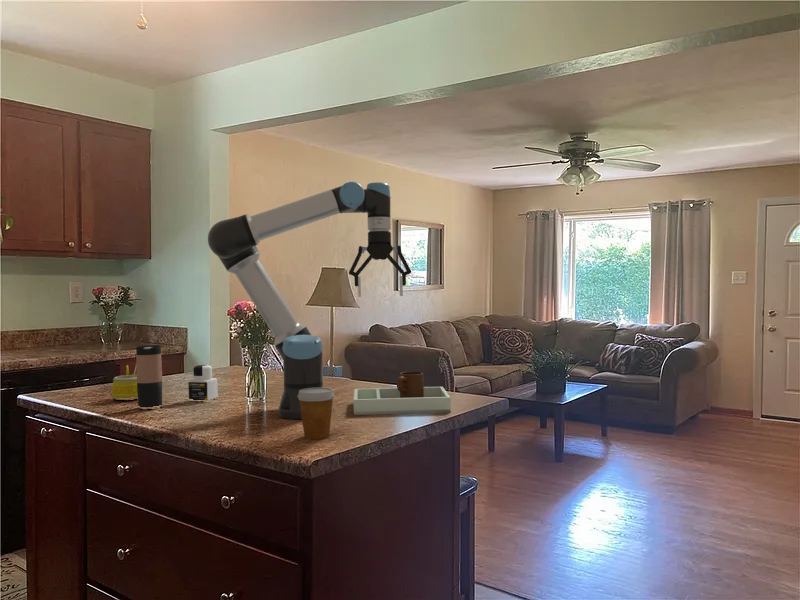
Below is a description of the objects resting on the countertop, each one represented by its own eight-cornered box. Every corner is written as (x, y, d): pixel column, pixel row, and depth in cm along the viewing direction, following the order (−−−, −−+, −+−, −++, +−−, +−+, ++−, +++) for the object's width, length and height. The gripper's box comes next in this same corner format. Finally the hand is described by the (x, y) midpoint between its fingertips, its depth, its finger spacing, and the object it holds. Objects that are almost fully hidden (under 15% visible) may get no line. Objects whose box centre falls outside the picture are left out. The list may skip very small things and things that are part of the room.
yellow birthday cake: (134, 402, 221) (133, 367, 221) (105, 402, 223) (104, 367, 223) (154, 395, 234) (153, 362, 234) (126, 395, 236) (125, 362, 235)
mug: (408, 408, 197) (408, 377, 197) (387, 406, 201) (387, 375, 201) (428, 401, 207) (427, 372, 207) (407, 399, 211) (407, 370, 211)
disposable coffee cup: (340, 433, 171) (339, 387, 170) (327, 441, 161) (326, 393, 161) (306, 431, 173) (305, 386, 173) (292, 440, 164) (291, 392, 163)
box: (353, 414, 194) (353, 399, 193) (355, 402, 214) (354, 388, 213) (450, 412, 195) (450, 397, 195) (442, 400, 215) (442, 386, 215)
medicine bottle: (188, 401, 220) (187, 366, 220) (199, 398, 227) (198, 363, 227) (207, 402, 218) (206, 366, 218) (218, 398, 225) (217, 364, 225)
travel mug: (152, 405, 215) (150, 344, 215) (168, 407, 211) (166, 345, 211) (132, 409, 209) (130, 347, 208) (148, 411, 205) (146, 347, 204)
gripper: (340, 230, 207) (341, 297, 208) (418, 229, 208) (419, 295, 209) (341, 232, 215) (342, 296, 215) (416, 231, 216) (417, 295, 216)
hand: (380, 296), depth 212 cm, fingers open, 13 cm apart
